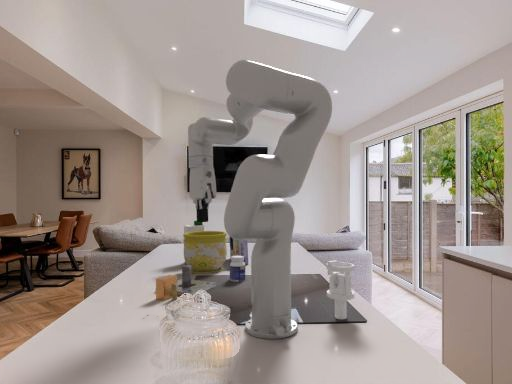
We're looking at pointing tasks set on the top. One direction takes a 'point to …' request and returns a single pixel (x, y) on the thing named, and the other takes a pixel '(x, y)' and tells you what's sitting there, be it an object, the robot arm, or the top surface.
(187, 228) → the milk carton
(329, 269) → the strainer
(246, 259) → the cake pan box
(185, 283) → the board
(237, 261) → the pill bottle
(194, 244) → the flowerpot
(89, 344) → the top surface
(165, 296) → the flange plate
